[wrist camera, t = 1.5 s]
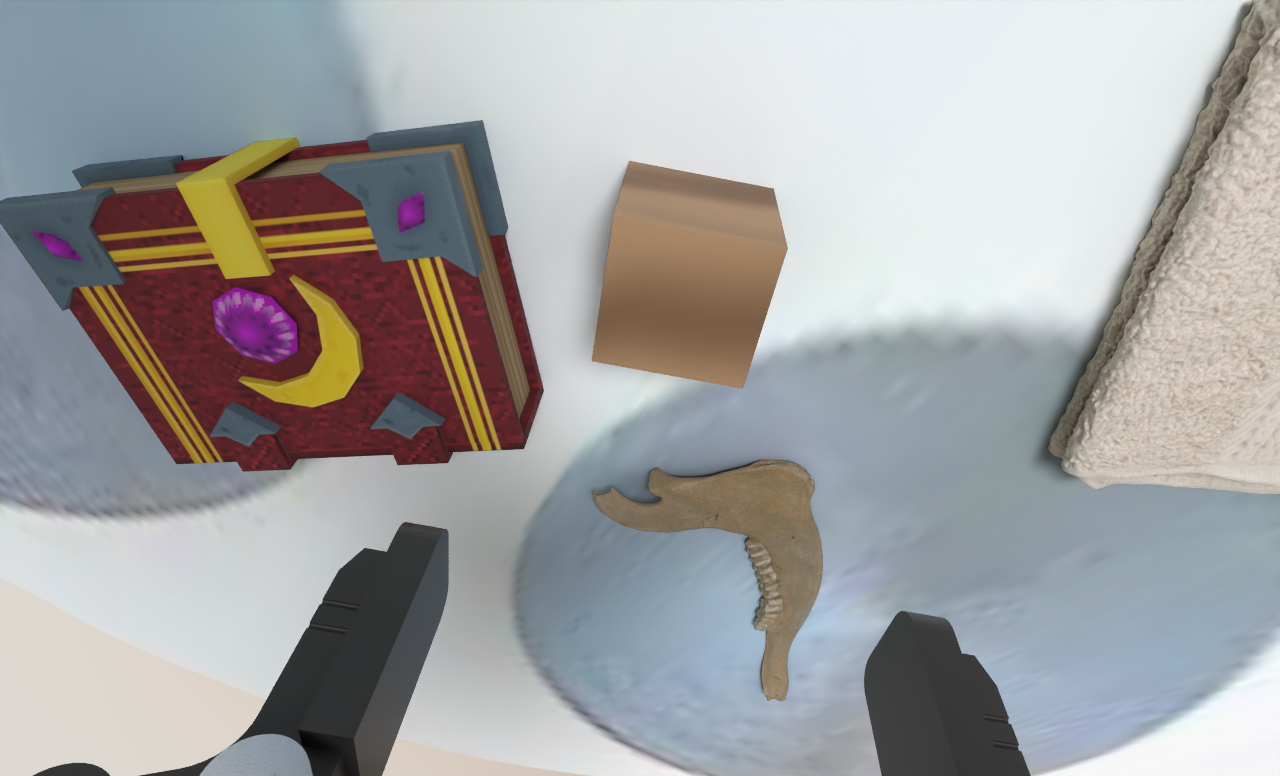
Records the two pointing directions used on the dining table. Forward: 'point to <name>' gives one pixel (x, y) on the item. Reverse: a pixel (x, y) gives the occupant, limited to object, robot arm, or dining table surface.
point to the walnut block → (688, 275)
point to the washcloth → (1198, 307)
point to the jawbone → (766, 512)
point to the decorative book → (299, 296)
